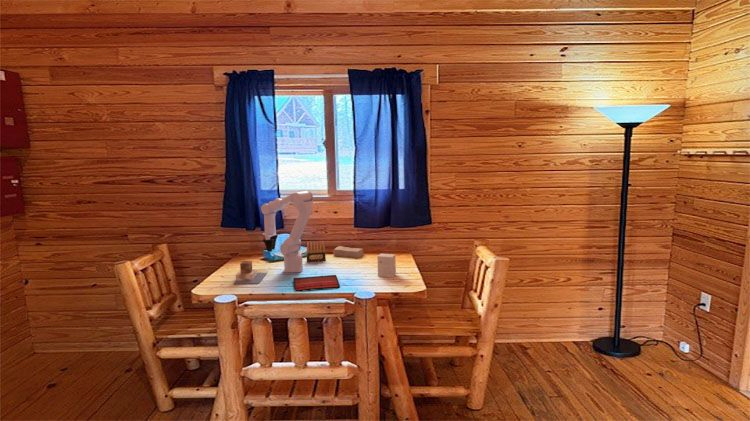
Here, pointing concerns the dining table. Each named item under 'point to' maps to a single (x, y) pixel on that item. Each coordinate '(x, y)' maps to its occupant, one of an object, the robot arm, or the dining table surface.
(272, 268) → the dining table surface
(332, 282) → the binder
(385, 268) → the small box
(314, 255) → the ammunition clip
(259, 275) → the board
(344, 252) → the brick
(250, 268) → the walnut block
